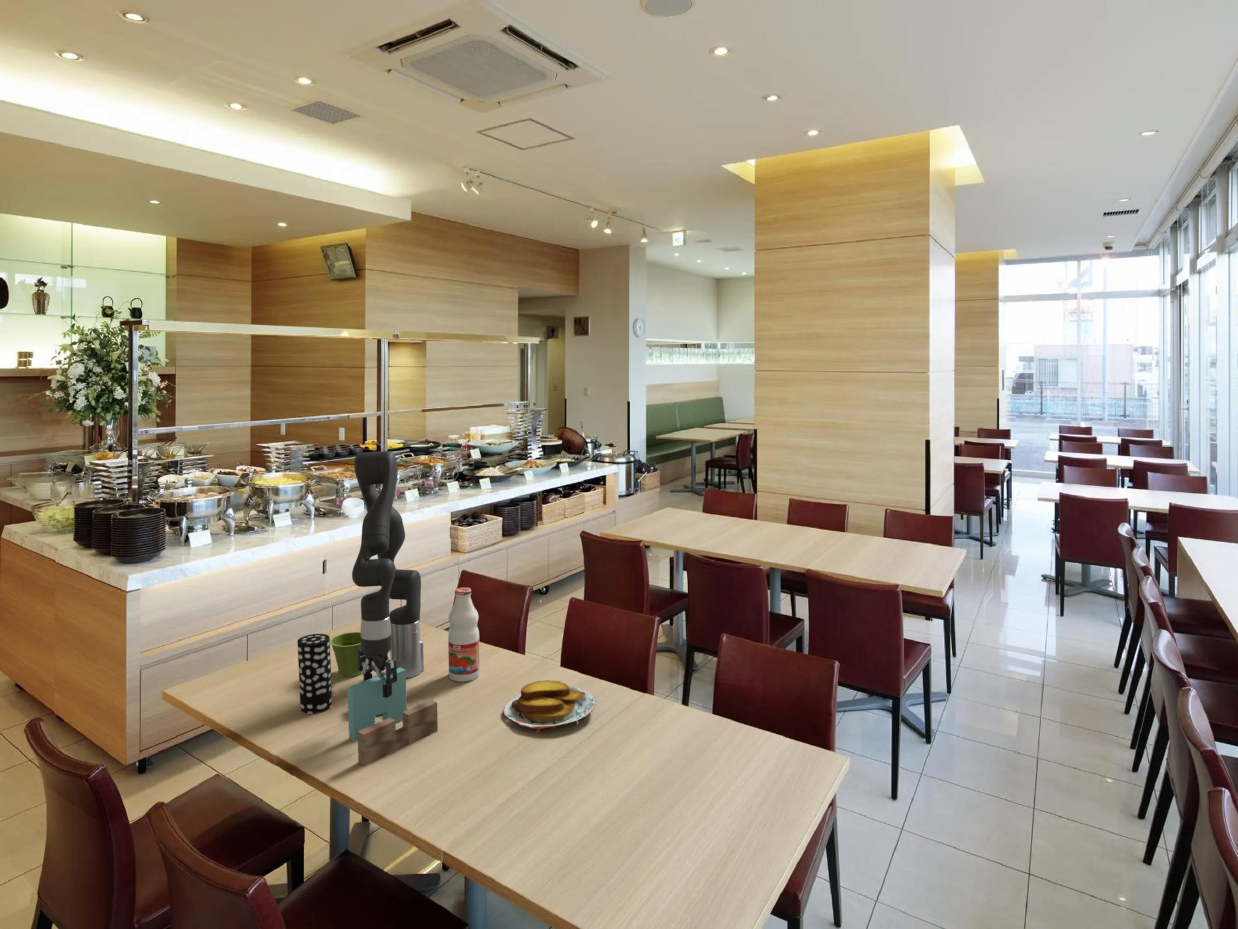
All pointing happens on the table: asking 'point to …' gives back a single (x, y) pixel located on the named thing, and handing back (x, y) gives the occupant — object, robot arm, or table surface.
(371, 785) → the table surface
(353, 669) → the plant pot
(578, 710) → the food on plate
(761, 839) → the table surface
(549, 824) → the table surface
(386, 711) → the teal plate
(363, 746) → the walnut board
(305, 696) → the spotted tube
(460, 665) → the fruit juice
